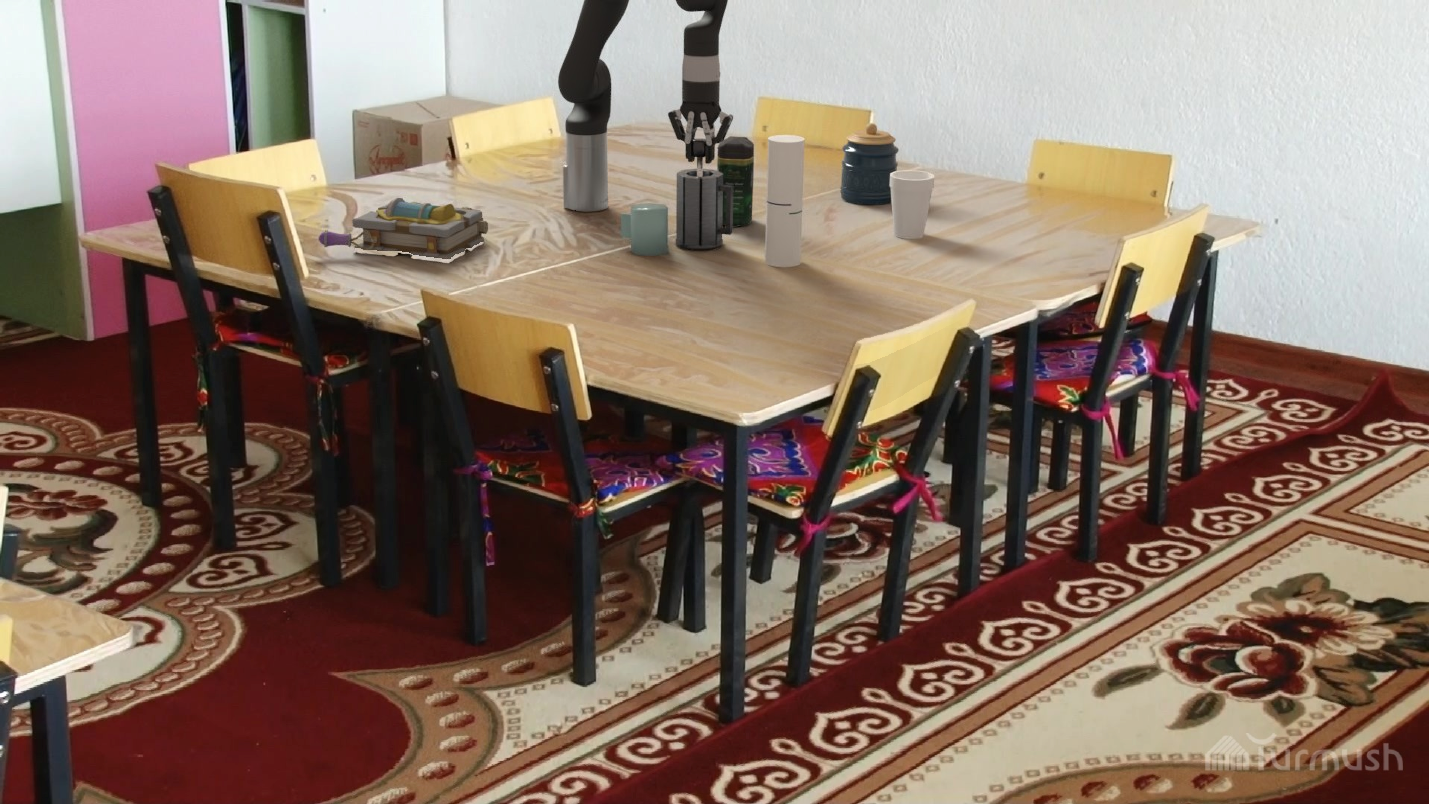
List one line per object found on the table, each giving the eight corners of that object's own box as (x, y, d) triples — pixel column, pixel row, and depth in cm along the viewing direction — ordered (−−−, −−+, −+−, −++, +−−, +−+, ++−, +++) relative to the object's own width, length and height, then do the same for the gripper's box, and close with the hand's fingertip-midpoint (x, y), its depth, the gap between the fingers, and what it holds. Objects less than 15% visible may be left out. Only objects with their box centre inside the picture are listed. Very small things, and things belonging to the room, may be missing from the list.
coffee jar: (750, 228, 340) (752, 143, 334) (713, 227, 341) (715, 142, 334) (754, 217, 349) (756, 134, 343) (718, 216, 350) (720, 133, 343)
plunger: (686, 225, 325) (687, 141, 319) (693, 221, 329) (694, 137, 322) (705, 227, 324) (706, 142, 318) (711, 223, 327) (712, 139, 321)
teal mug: (615, 252, 322) (614, 209, 318) (629, 243, 328) (628, 200, 325) (659, 257, 319) (659, 214, 315) (673, 247, 325) (673, 205, 322)
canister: (905, 197, 369) (909, 122, 362) (880, 208, 358) (884, 131, 352) (856, 189, 375) (859, 115, 369) (829, 200, 365) (833, 124, 358)
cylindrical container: (763, 257, 319) (766, 134, 310) (798, 257, 320) (802, 134, 311) (767, 267, 313) (770, 142, 304) (802, 266, 313) (807, 142, 304)
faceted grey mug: (668, 248, 325) (668, 176, 320) (685, 236, 334) (685, 166, 328) (723, 254, 321) (724, 181, 316) (738, 242, 330) (739, 171, 325)
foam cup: (935, 231, 340) (938, 172, 335) (925, 242, 332) (929, 181, 327) (891, 227, 343) (895, 168, 338) (881, 238, 334) (885, 177, 330)
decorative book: (381, 231, 338) (378, 182, 334) (493, 241, 330) (491, 192, 326) (317, 260, 315) (312, 208, 312) (435, 272, 307) (432, 219, 304)
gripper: (661, 77, 314) (661, 163, 320) (728, 82, 310) (726, 168, 316) (674, 71, 321) (674, 155, 327) (740, 76, 316) (738, 161, 323)
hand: (700, 161), depth 321 cm, fingers closed on plunger, 3 cm apart
